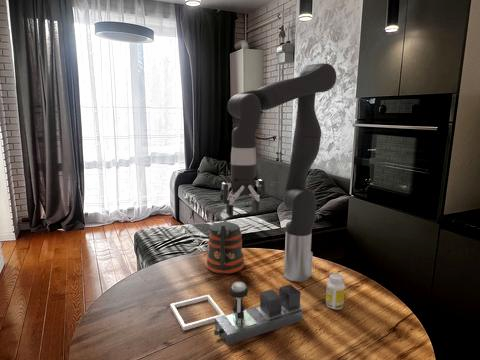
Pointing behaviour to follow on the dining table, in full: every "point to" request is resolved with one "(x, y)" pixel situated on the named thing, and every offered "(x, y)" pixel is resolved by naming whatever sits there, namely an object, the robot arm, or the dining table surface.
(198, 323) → the empty frame
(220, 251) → the beer stein
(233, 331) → the power strip
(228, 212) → the robot arm
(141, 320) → the dining table surface
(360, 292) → the dining table surface
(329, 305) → the supplement bottle
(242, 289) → the push button
